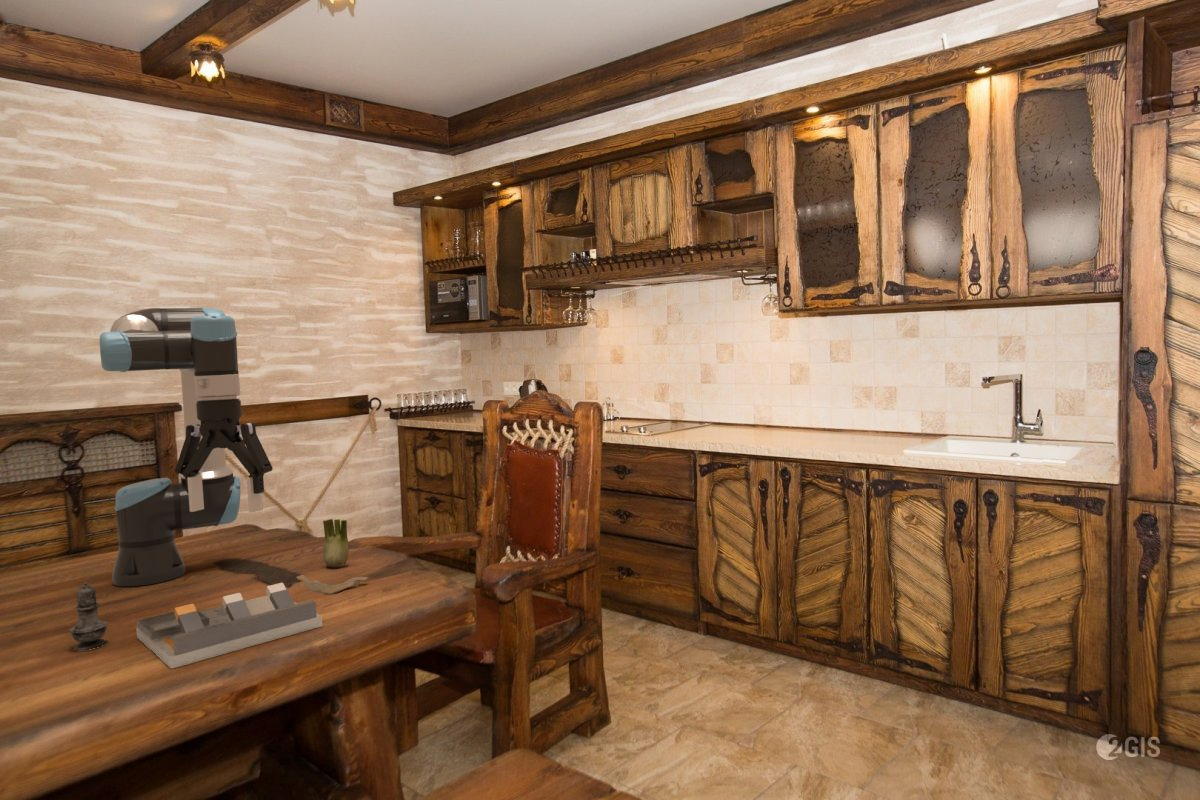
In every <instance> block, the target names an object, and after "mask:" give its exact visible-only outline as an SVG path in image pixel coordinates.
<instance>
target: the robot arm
mask: <svg viewBox="0 0 1200 800" xmlns="http://www.w3.org/2000/svg"><path fill="white" fill-rule="evenodd" d="M237 336H238V332H237V330H236V322H235V319H234V317H232V316H230V315H229V316H228V315H226V314H225V313H224V311H222V310H221V309H219V308H211V307H210V308H209V307H184V308H183V307H177V308H176V307H173V308H171V307H168V308H167V307H166V308H165V307H162V308H160V307H150V308H145V309H140V310H136V311H132V312H129V313H127V314H125V315H123V316H122V315H121V316H120V317H119V318H117V319H116V320H114V322H113V324H112V326H111V328H110V330H109V331H104V332H101V333H100V334H99V354H100V362H101V368H102V369H103V371H107V372H120V373H126V372H136V371H138V372H139V371H140V372H141V371H157V370H160V371H161V370H163V371H164V370H179V371H180V378H181V381H180V382H181V392H182V393H181V395H182V407H183V408H182V409H183V424H184V441H183V445H182V447H181V450H180V453H179V456H178V460H177V463H176V466H175V468H174V473H175V474H180V482H172V480H171V478H168V477H160V478H152V479H148V480H144V481H142V480H141V481H138V482H134V483H132V484H131V483H130V484H128V485H125V486H123V487H121V488H119V489H118V490H117V491H116V493H115V507H114V511H115V512H116V525H117V526H116V527H117V542H118V552H117V556H116V559H115V563H114V565H113V569H112V573H111V578H112V585H114V586H116V587H117V586H118V587H140V586H147V585H153V584H159V583H163V582H167V581H171V580H174V579H176V578H180V577H181V576H183V575H184V574H185V573H186V565H185V564H186V563H185V562H184V560H183V557H182V554H181V553H180V550H179V548H178V546H177V544H176V541H175V532H177V531H184V530H185V531H186V530H192V529H193V530H194V529H198V528H208V527H219V526H222V525H226V524H227V525H229V524H232V523H233V522H235V521H236V520H237V518H238V517H239V516H238V515H239V510H240V505H241V504H240V503H241V478H240V477H238V476H236V475H234V470H233V469H232V468H230V467H229V466H228V465H227V461H226V460H227V459H226V449H227V450H228V451H231V452H232V453H233V454H234V456H235V457H236V458H237V460H238V461H239V462H240V464H241V465H242V466H243V467H244V469H245V470H246V471H247V473H248V474H249V475H248V476H247V477H246V485H247V487H246V488H247V500H248V513H255V512H259V511H263V493H264V491H265V485H264V484H265V483H264V481H265V479H264V475H265V474H267V473H269V472H272V471H273V470H274V469H273V466H272V465H273V464H271V461H270V459H269V457H268V455H267V453H266V451H265V449H264V447H263V445H262V443H261V440H260V439H259V435H257V429H256V424H255V423H254V422H248V423H247V422H246V423H241V422H240V418H241V417H242V413H243V412H242V403H241V402H242V401H241V400H240V398H238V396H241V385H240V374H239V364H238V361H239V360H238V347H237V346H238V344H237V343H238V342H237Z"/></svg>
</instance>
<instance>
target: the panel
mask: <svg viewBox="0 0 1200 800" xmlns="http://www.w3.org/2000/svg"><path fill="white" fill-rule="evenodd" d="M244 602H245V604H246V606H247V607H248V609H249V611H250V613H251V615H252V616H248V617H244V618H241V619H237V620H233V621H231V620H230V618H229V616H228V614H227V612H226V610H225V608H224V606H223V605H221V606H218V607H213V608H209V609H206V610H201V611H199V610H197V612H198V614H199V617H200V619H201V621H202V623H203V625H204V628H201V629H198V630H194V631H190V632H186V633H182V630H181V628H180V626H179V623H178V621H177V619H176V616H175V614H174V613H175V611H173V612H168V613H164V614H159V615H155V616H152V617H147V618H146V617H145V618H142V619H138V620H137V621H136V623H137V625H136V626H135V627H136V628H135V631H136V638H137V639H138V640H139V641H140V642H141V641H142V642H141V643H142V644H143V643H144V644H143V645H145V646H146V647H147V649H149V650H150V651H151V650H152V651H153V652H154V653H155V654H156V655H155V654H154V653H153V652H152V651H151V652H152V653H153V654H154V655H155V656H157V658H159V659H160V660H161V661H162V663H164V664H165V665H167V666H168V668H169V669H171V670H172V669H176V668H179V667H180V668H181V667H183V666H186V665H191V664H194V663H197V662H200V661H205V660H208V659H211V658H215V657H218V656H222V655H226V654H229V653H233V652H235V651H240V650H243V649H248V648H250V647H253V646H257V645H261V644H265V643H268V642H271V641H274V640H280V639H283V638H285V637H289V636H292V635H296V634H300V633H303V632H307V631H310V630H311V631H312V630H314V629H317V628H321V627H323V615H320V614H319V613H317V601H315V600H307V601H304V602H300V603H299V602H298V603H297V602H296V601H293V602H294V603H295V605H291V606H287V607H284V608H280V609H276V610H275V608H274V606H273V604H272V602H271V601H270V599H269V597H268V595H267V594H266V595H263V596H259V597H255V598H251V599H245V600H244Z"/></svg>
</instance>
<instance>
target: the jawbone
mask: <svg viewBox="0 0 1200 800" xmlns="http://www.w3.org/2000/svg"><path fill="white" fill-rule="evenodd" d="M296 580H298V581H300V582H303V583H304V585H305V588H306V589H307V590H309V591H312V592H315V593H322V594H323V595H334V594H335V595H336V594H338V593H340V591H343V590H346V589H348V588H351V589H357V588H356V587H358V588H359V581H366V580H369V578H368V577H367V576H355V577H353V578H350V579H347V580H345V581H344V582H343V581H342V582H340V583H335V584H328V583H323V582H320V581H318V580H317V579H315V580H309V579H308V577H306V576H305V575H304V574H300V575H297V576H296Z"/></svg>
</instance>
